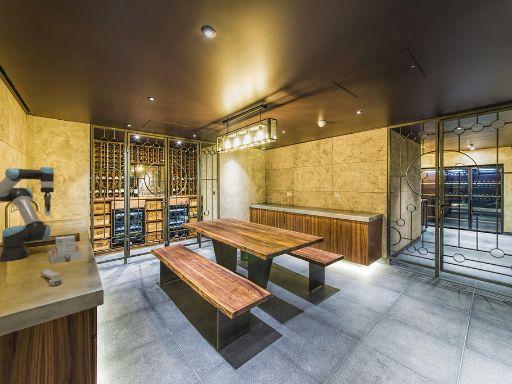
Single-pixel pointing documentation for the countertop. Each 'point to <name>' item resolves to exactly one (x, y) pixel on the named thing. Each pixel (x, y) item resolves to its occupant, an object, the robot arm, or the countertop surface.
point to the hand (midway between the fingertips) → (47, 215)
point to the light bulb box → (65, 244)
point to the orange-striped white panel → (65, 255)
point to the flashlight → (52, 277)
